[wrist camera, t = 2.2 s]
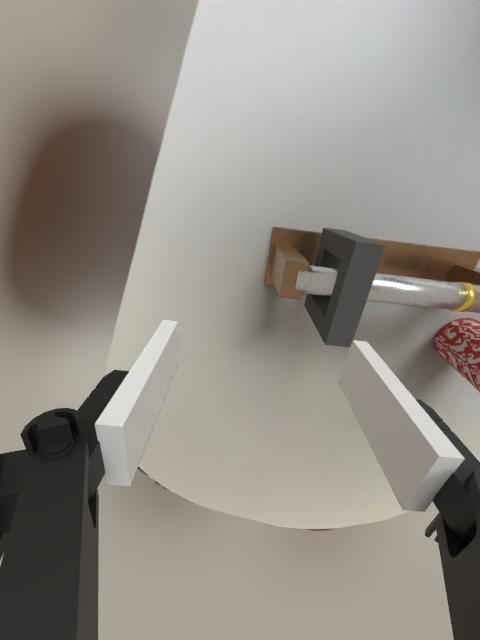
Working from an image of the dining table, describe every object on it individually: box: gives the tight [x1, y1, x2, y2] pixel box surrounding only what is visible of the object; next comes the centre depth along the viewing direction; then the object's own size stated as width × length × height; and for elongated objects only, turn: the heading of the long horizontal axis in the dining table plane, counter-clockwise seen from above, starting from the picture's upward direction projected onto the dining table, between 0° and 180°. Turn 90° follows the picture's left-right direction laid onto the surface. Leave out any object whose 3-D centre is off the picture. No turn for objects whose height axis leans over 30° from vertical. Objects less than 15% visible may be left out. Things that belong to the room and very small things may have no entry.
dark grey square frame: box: [304, 228, 386, 347], centre depth 28 cm, size 2×10×10 cm, turn 174°
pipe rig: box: [265, 227, 480, 313], centre depth 32 cm, size 29×8×12 cm, turn 84°
